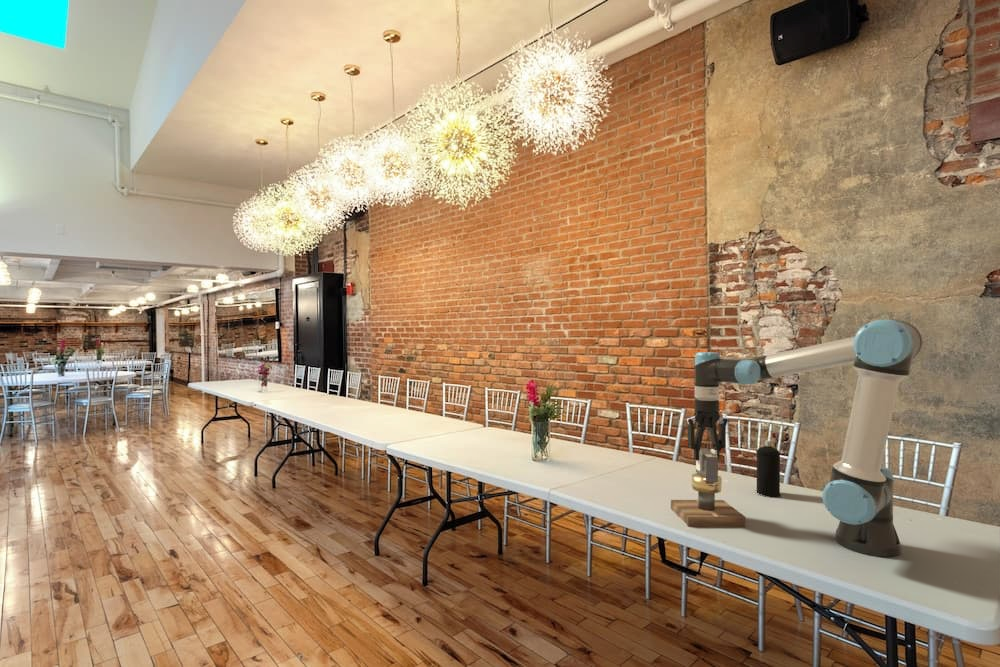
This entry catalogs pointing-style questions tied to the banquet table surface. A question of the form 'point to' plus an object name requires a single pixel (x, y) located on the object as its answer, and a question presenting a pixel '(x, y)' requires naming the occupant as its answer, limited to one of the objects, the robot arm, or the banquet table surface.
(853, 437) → the robot arm
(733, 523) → the base
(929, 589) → the banquet table surface
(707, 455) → the coupling
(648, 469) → the banquet table surface
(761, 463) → the aerosol can
